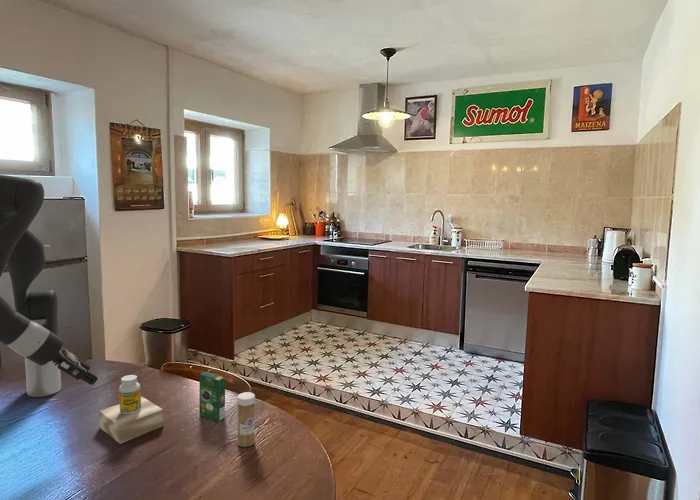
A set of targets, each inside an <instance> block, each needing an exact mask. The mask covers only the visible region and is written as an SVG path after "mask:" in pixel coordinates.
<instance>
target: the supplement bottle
mask: <svg viewBox="0 0 700 500" xmlns="http://www.w3.org/2000/svg"><path fill="white" fill-rule="evenodd" d="M141 396H142V394H141V384H140V383H139V382H138V376H137V375H136V374H128V375H124V376H123V377H121V378H120V385H119V388H118V399H119V400H118V401H119V404H120V412H121V413H122V414H134V413H136V412H138V411H139V410H140V409H141Z"/></svg>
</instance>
